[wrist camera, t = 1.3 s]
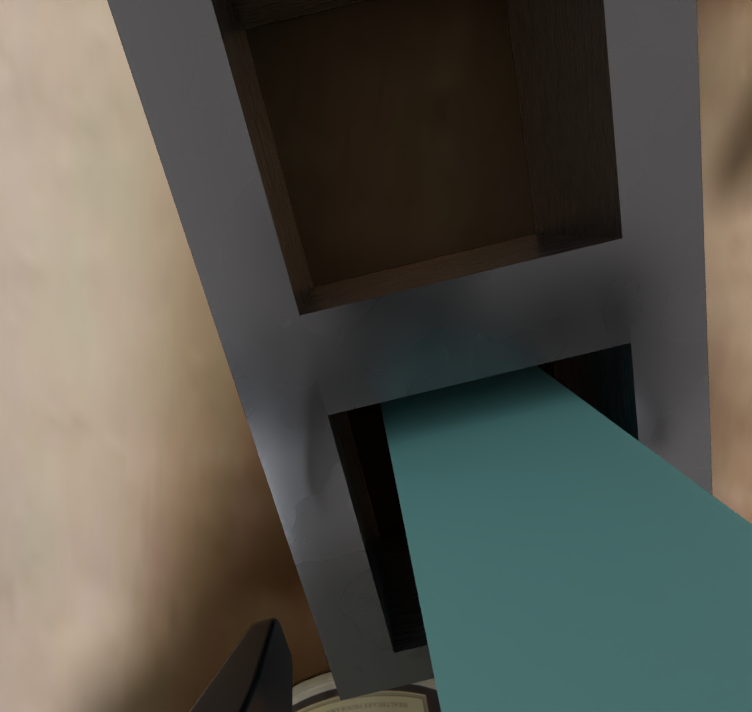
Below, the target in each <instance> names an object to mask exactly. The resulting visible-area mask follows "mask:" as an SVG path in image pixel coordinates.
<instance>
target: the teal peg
mask: <svg viewBox="0 0 752 712" xmlns="http://www.w3.org/2000/svg"><path fill="white" fill-rule="evenodd" d="M380 405H381V410H382V415H383V420H384V425H385V430H386V435H387V440H388V446H389V451H390V456H391V461H392V466H393V471H394V476H395V481H396V486H397V491H398V496H399V501H400V506H401V511H402V516H403V521H404V526H405V531H406V537H407V542H408V547H409V552H410V557H411V562H412V567H413V572H414V577H415V582H416V587H417V592H418V597H419V602H420V607H421V612H422V617H423V622H424V627H425V633H426V638H427V643H428V648H429V653H430V658H431V663H432V668H433V673H434V678H435V683H436V688H437V693H438V698H439V703H440V708H441V712H752V524H750V523H749V522H748V521H746V520H745V519H744V518H742V517H741V516H739V515H738V514H737V513H735V512H734V511H733V510H731V509H730V508H729V507H727V506H726V505H725V504H723V503H722V502H721V501H719V500H718V499H716V498H715V497H714V496H712V495H711V494H710V493H708V492H707V491H706V490H704V489H703V488H702V487H700V486H699V485H697V484H696V483H695V482H693V481H692V480H691V479H689V478H688V477H687V476H685V475H684V474H683V473H681V472H680V471H678V470H677V469H676V468H674V467H673V466H672V465H670V464H669V463H668V462H666V461H665V460H664V459H662V458H661V457H660V456H658V455H657V454H655V453H654V452H653V451H651V450H650V449H649V448H647V447H646V446H645V445H643V444H642V443H641V442H639V441H638V440H636V439H635V438H634V437H632V436H631V435H630V434H628V433H627V432H626V431H624V430H623V429H622V428H620V427H619V426H617V425H616V424H615V423H613V422H612V421H611V420H609V419H608V418H607V417H605V416H604V415H603V414H601V413H600V412H599V411H597V410H596V409H594V408H593V407H592V406H590V405H589V404H588V403H586V402H585V401H584V400H582V399H581V398H580V397H578V396H577V395H575V394H574V393H573V392H571V391H570V390H569V389H567V388H566V387H565V386H563V385H562V384H561V383H559V382H558V381H556V380H555V379H554V378H552V377H551V376H550V375H548V374H547V373H546V372H544V371H543V370H542V369H540V368H539V367H538V366H531V367H527V368H523V369H519V370H515V371H511V372H506V373H502V374H498V375H494V376H490V377H485V378H481V379H477V380H473V381H469V382H465V383H460V384H456V385H452V386H448V387H444V388H440V389H435V390H431V391H427V392H423V393H419V394H414V395H410V396H406V397H402V398H398V399H394V400H389V401H385V402H381V403H380Z"/></svg>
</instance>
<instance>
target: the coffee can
mask: <svg viewBox="0 0 752 712" xmlns="http://www.w3.org/2000/svg"><path fill="white" fill-rule="evenodd" d="M292 712H441V708H440V703H439V698H438V693H437V688H436V683H435V678H433V679H429V680H425V681H421V682H417V683H412V684H408V685H404V686H400V687H396V688H392V689H387V690H383V691H379V692H375V693H371V694H366V695H362V696H358V697H354V698H350V699H346V700H340V697H339V694H338V691H337V688H336V685H335V682H334V679H333V676H332V673H331V672H329V673H325V674H322V675H319V676H316V677H314V678H312V679H309V680H305V681H303V682H301V683H299V684H297V685H296V686H294V687H292Z"/></svg>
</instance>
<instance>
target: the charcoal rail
mask: <svg viewBox="0 0 752 712" xmlns="http://www.w3.org/2000/svg"><path fill="white" fill-rule="evenodd" d="M107 1H108V4H109V7H110V10H111V13H112V16H113V19H114V22H115V25H116V28H117V31H118V34H119V37H120V40H121V43H122V46H123V49H124V52H125V55H126V58H127V61H128V64H129V67H130V70H131V73H132V76H133V79H134V82H135V85H136V88H137V91H138V94H139V97H140V100H141V103H142V106H143V109H144V112H145V115H146V118H147V121H148V124H149V127H150V130H151V133H152V136H153V139H154V142H155V145H156V148H157V151H158V154H159V157H160V160H161V163H162V166H163V169H164V172H165V175H166V178H167V181H168V184H169V187H170V190H171V193H172V196H173V199H174V202H175V205H176V208H177V211H178V214H179V217H180V220H181V223H182V226H183V229H184V232H185V235H186V238H187V241H188V244H189V247H190V250H191V253H192V256H193V259H194V262H195V265H196V268H197V271H198V274H199V277H200V280H201V283H202V286H203V289H204V292H205V295H206V298H207V301H208V304H209V307H210V310H211V313H212V316H213V319H214V322H215V325H216V328H217V331H218V334H219V337H220V340H221V343H222V346H223V349H224V352H225V355H226V358H227V361H228V364H229V367H230V370H231V373H232V376H233V379H234V382H235V385H236V388H237V391H238V394H239V397H240V400H241V403H242V406H243V409H244V412H245V415H246V418H247V421H248V424H249V427H250V430H251V433H252V436H253V439H254V442H255V445H256V448H257V451H258V454H259V457H260V460H261V463H262V466H263V469H264V472H265V475H266V478H267V481H268V484H269V487H270V490H271V493H272V496H273V499H274V502H275V505H276V508H277V511H278V514H279V517H280V520H281V523H282V526H283V529H284V532H285V535H286V538H287V541H288V544H289V547H290V550H291V553H292V556H293V559H294V562H295V565H296V568H297V571H298V574H299V577H300V580H301V583H302V586H303V589H304V592H305V595H306V598H307V601H308V604H309V607H310V610H311V613H312V616H313V619H314V622H315V625H316V628H317V631H318V634H319V637H320V640H321V643H322V646H323V649H324V652H325V655H326V658H327V661H328V664H329V667H330V670H331V673H332V676H333V679H334V682H335V685H336V688H337V691H338V694H339V697H340V700H346V699H350V698H354V697H358V696H362V695H366V694H371V693H375V692H379V691H383V690H387V689H392V688H396V687H400V686H404V685H408V684H412V683H417V682H421V681H425V680H429V679H433V678H434V673H433V668H432V663H431V658H430V653H429V648H428V643H427V638H426V633H425V627H424V622H423V617H422V612H421V607H420V602H419V597H418V592H417V587H416V582H415V577H414V572H413V567H412V562H411V557H410V552H409V547H408V542H407V537H406V534H404V535H400V536H396V537H391V538H387V539H383V540H381V538H380V535H379V531H378V527H377V523H376V520H375V516H374V512H373V508H372V505H371V501H370V497H369V493H368V490H367V486H366V482H365V478H364V475H363V471H362V467H361V463H360V460H359V456H358V452H357V448H356V445H355V441H354V437H353V433H352V430H351V426H350V422H349V418H348V415H347V411H348V410H352V409H356V408H360V407H364V406H369V405H373V404H377V403H381V402H385V401H389V400H394V399H398V398H402V397H406V396H410V395H414V394H419V393H423V392H427V391H431V390H435V389H440V388H444V387H448V386H452V385H456V384H460V383H465V382H469V381H473V380H477V379H481V378H485V377H490V376H494V375H498V374H502V373H506V372H511V371H515V370H519V369H523V368H527V367H531V366H536V365H540V364H544V363H548V362H552V361H553V367H554V374H555V380H556V381H558V382H559V383H561V384H562V385H563V386H565V387H566V388H567V389H569V390H570V391H571V392H573V393H574V394H575V395H577V396H578V397H580V398H581V399H582V400H584V401H585V402H586V403H588V404H589V405H590V406H592V407H593V408H594V409H596V410H597V411H599V412H600V413H601V414H603V415H604V416H605V417H607V418H608V419H609V420H611V421H612V422H613V423H615V424H616V425H617V426H619V427H620V428H622V429H623V430H624V431H626V432H627V433H628V434H630V435H631V436H632V437H634V438H635V439H636V440H638V441H639V442H641V443H642V444H643V445H645V446H646V447H647V448H649V449H650V450H651V451H653V452H654V453H655V454H657V455H658V456H660V457H661V458H662V459H664V460H665V461H666V462H668V463H669V464H670V465H672V466H673V467H674V468H676V469H677V470H678V471H680V472H681V473H683V474H684V475H685V476H687V477H688V478H689V479H691V480H692V481H693V482H695V483H696V484H697V485H699V486H700V487H702V488H703V489H704V490H706V491H707V492H708V493H710V494H711V495H712V469H711V438H710V407H709V376H708V346H707V315H706V284H705V253H704V223H703V192H702V161H701V130H700V100H699V69H698V38H697V8H696V0H506V4H507V12H508V19H509V27H510V35H511V43H512V50H513V58H514V66H515V73H516V81H517V89H518V97H519V104H520V112H521V120H522V128H523V135H524V143H525V151H526V158H527V166H528V174H529V182H530V189H531V197H532V205H533V212H534V220H535V228H536V234H534V235H530V236H525V237H521V238H517V239H513V240H509V241H504V242H500V243H496V244H492V245H488V246H484V247H479V248H475V249H471V250H467V251H463V252H459V253H454V254H450V255H446V256H442V257H438V258H433V259H429V260H425V261H421V262H417V263H413V264H408V265H404V266H400V267H396V268H392V269H387V270H383V271H379V272H375V273H371V274H367V275H362V276H358V277H354V278H350V279H346V280H342V281H337V282H333V283H329V284H325V285H321V286H316V287H313V284H312V280H311V276H310V272H309V269H308V265H307V261H306V257H305V254H304V250H303V246H302V242H301V239H300V235H299V231H298V227H297V224H296V220H295V216H294V212H293V209H292V205H291V201H290V197H289V194H288V190H287V186H286V182H285V179H284V175H283V171H282V167H281V164H280V160H279V156H278V152H277V149H276V145H275V141H274V137H273V134H272V130H271V126H270V122H269V119H268V115H267V111H266V107H265V104H264V100H263V96H262V92H261V89H260V85H259V81H258V77H257V74H256V70H255V66H254V62H253V59H252V55H251V51H250V47H249V44H248V40H247V36H246V32H245V29H249V28H253V27H257V26H261V25H265V24H270V23H274V22H278V21H282V20H286V19H290V18H295V17H299V16H303V15H307V14H311V13H316V12H320V11H324V10H328V9H332V8H336V7H341V6H345V5H349V4H353V3H357V2H361V1H366V0H107Z"/></svg>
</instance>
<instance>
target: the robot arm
mask: <svg viewBox="0 0 752 712" xmlns="http://www.w3.org/2000/svg"><path fill="white" fill-rule="evenodd" d="M292 685H293V667H292V658H291V654H290V651H289V648H288V645H287V642H286V639H285V637H284V634H283V631H282V628H281V625H280V623H279V621H278V620H277V619H275V618H271V619H267V620H263V621H259V622H256V623H254V624H252V625H251V627H250V628H249V629H248V631H247V632H246V633H245V635H244V636H243V637H242V639H241V640H240V642H239V643H238V644H237V646H236V647H235V649H234V650H233V651H232V653H231V654H230V656H229V657H228V658H227V660H226V661H225V663H224V664H223V665H222V667H221V668H220V669H219V671H218V672H217V674H216V675H215V676H214V678H213V679H212V681H211V682H210V683H209V685H208V686H207V688H206V689H205V690H204V692H203V693H202V695H201V696H200V697H199V699H198V700H197V701H196V703H195V704H194V706H193V707H192V708H191V710H190V711H189V712H292Z"/></svg>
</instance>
